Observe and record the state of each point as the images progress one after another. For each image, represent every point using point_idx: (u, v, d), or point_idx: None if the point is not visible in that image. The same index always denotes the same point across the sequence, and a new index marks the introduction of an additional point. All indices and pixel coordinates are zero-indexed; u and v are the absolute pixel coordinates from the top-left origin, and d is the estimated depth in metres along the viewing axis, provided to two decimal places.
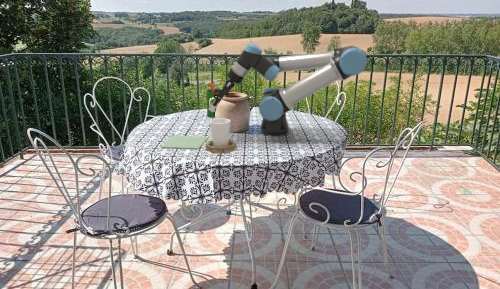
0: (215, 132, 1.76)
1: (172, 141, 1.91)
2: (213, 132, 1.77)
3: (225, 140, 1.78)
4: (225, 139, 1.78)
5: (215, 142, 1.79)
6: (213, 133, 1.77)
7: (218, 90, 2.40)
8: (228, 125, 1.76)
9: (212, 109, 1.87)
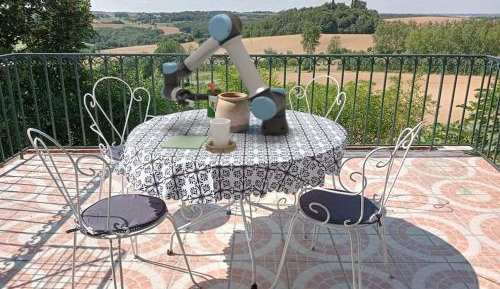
0: (215, 132, 1.76)
1: (172, 141, 1.91)
2: (213, 132, 1.77)
3: (225, 140, 1.78)
4: (225, 139, 1.78)
5: (215, 142, 1.79)
6: (213, 133, 1.77)
7: (218, 90, 2.40)
8: (228, 125, 1.76)
9: (191, 103, 1.81)
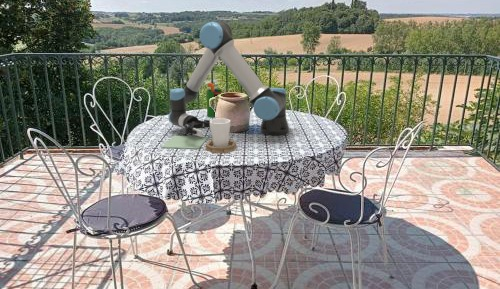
0: (215, 132, 1.76)
1: (172, 141, 1.91)
2: (213, 132, 1.77)
3: (225, 140, 1.78)
4: (225, 139, 1.78)
5: (215, 142, 1.79)
6: (213, 133, 1.77)
7: (218, 90, 2.40)
8: (228, 125, 1.76)
9: (199, 132, 1.79)
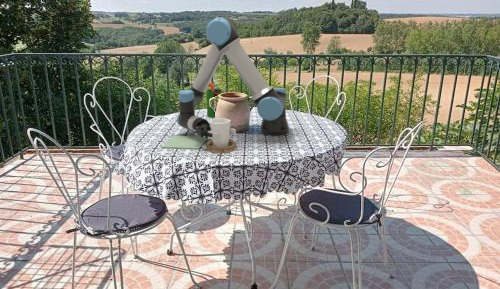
0: (215, 132, 1.76)
1: (172, 141, 1.91)
2: None
3: (225, 140, 1.78)
4: (225, 139, 1.78)
5: (215, 142, 1.79)
6: None
7: (218, 90, 2.40)
8: (228, 125, 1.76)
9: (215, 135, 1.74)
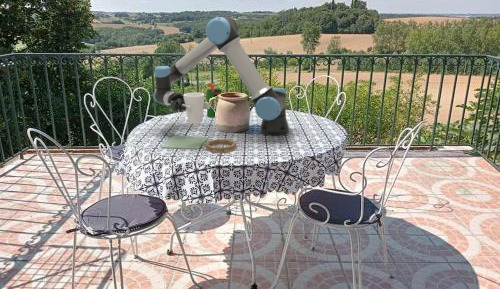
0: (189, 105, 1.78)
1: (172, 141, 1.91)
2: None
3: (199, 113, 1.80)
4: (199, 112, 1.80)
5: (189, 115, 1.80)
6: None
7: (218, 90, 2.40)
8: (202, 98, 1.78)
9: (188, 108, 1.76)
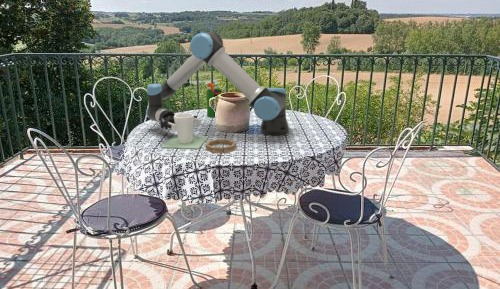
0: (179, 126, 1.84)
1: (172, 141, 1.91)
2: (177, 126, 1.85)
3: (189, 134, 1.87)
4: (188, 133, 1.86)
5: (179, 136, 1.87)
6: (177, 127, 1.86)
7: (218, 90, 2.40)
8: (191, 119, 1.85)
9: (173, 126, 1.82)
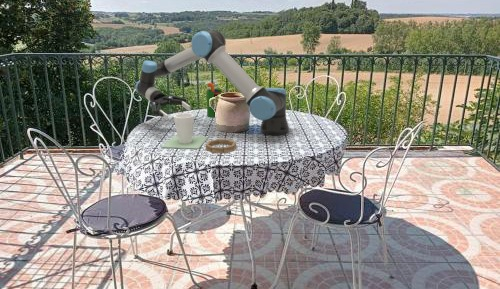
0: (179, 126, 1.84)
1: (172, 141, 1.91)
2: (177, 126, 1.85)
3: (189, 134, 1.87)
4: (189, 133, 1.86)
5: (179, 136, 1.87)
6: (177, 127, 1.86)
7: (218, 90, 2.40)
8: (191, 119, 1.85)
9: (165, 116, 1.93)
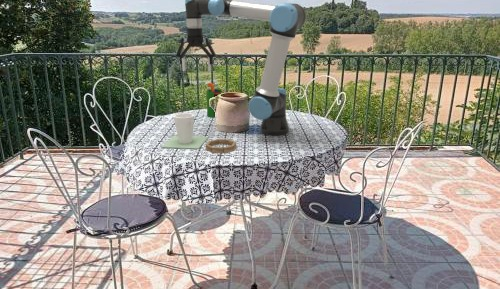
0: (179, 126, 1.84)
1: (172, 141, 1.91)
2: (177, 126, 1.85)
3: (189, 134, 1.87)
4: (189, 133, 1.86)
5: (179, 136, 1.87)
6: (177, 127, 1.86)
7: (218, 90, 2.40)
8: (191, 119, 1.85)
9: None
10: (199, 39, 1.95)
